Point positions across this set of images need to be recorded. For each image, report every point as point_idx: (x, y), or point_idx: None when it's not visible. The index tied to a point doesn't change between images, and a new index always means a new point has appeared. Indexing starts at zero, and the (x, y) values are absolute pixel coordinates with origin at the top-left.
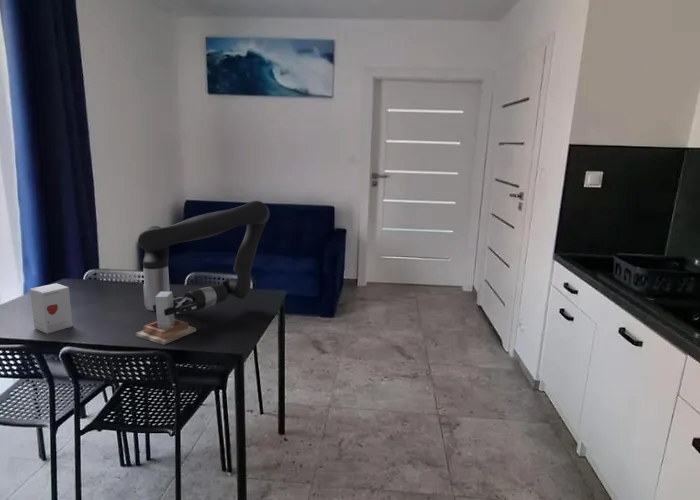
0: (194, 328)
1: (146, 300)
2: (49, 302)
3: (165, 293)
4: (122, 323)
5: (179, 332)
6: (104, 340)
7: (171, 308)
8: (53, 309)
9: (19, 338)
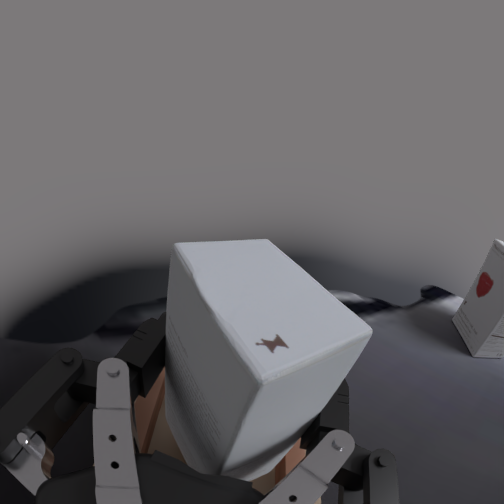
0: None
1: None
2: (490, 267)
3: (263, 296)
4: (444, 433)
5: None
6: None
7: (143, 342)
8: (484, 286)
9: (448, 299)
